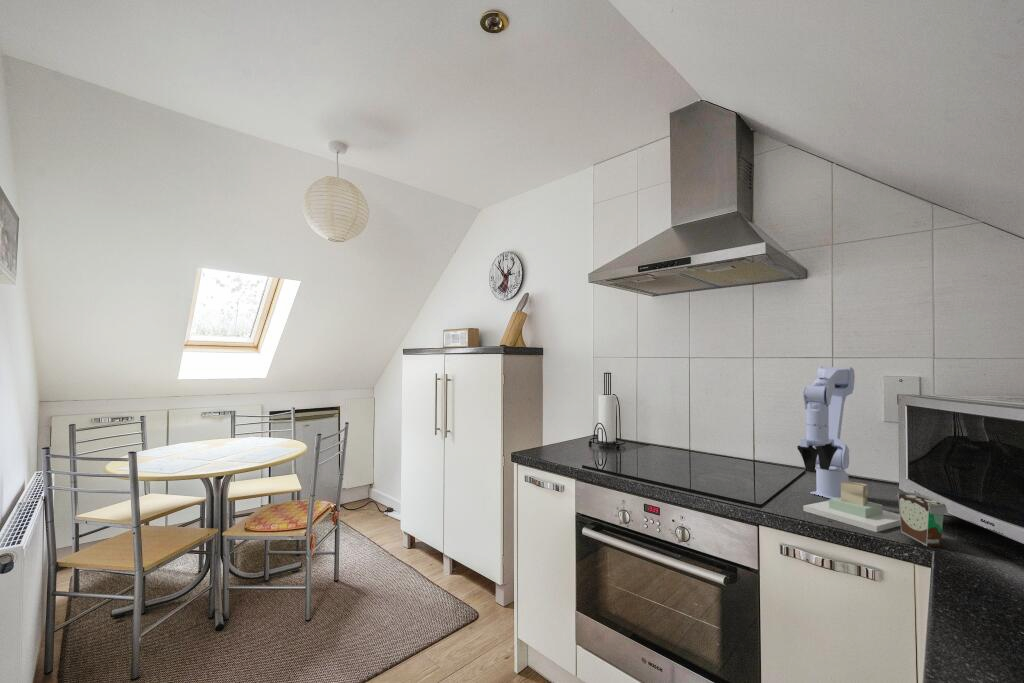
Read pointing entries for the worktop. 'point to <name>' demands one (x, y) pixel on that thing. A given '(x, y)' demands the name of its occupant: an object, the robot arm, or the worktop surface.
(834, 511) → the base board
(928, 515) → the food container
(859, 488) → the maple cube
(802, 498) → the worktop surface
